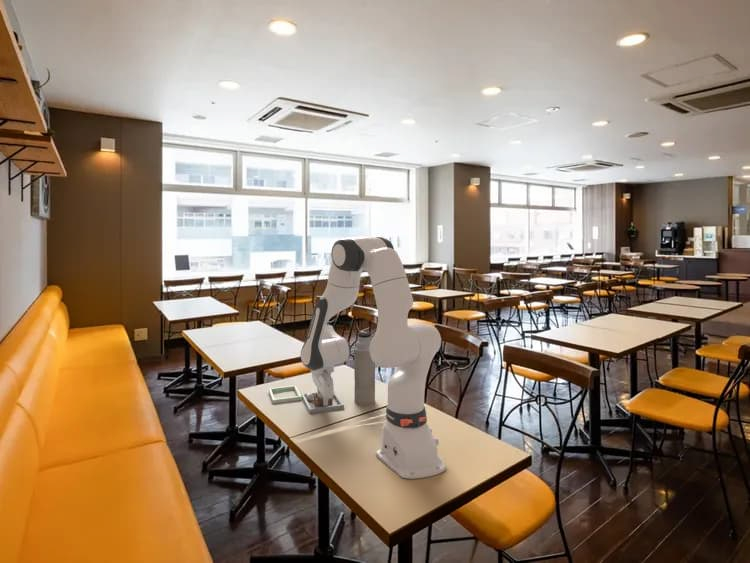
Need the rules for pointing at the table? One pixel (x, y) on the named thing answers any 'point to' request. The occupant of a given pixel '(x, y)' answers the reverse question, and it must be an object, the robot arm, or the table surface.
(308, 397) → the pebble
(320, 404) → the scoop cup
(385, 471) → the table surface
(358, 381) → the thermos bottle
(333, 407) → the slate tray
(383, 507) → the table surface
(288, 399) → the green tray
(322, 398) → the stone
